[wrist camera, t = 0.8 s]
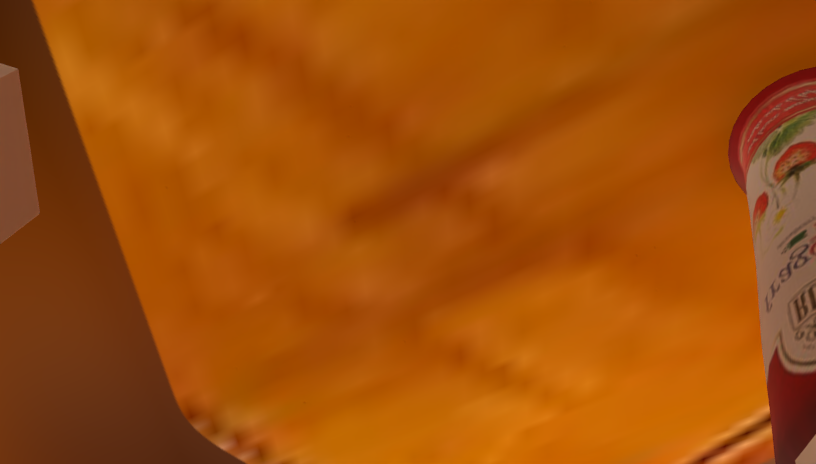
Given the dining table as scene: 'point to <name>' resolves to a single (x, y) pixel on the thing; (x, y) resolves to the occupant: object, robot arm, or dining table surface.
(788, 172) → the ketchup bottle
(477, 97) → the dining table surface
